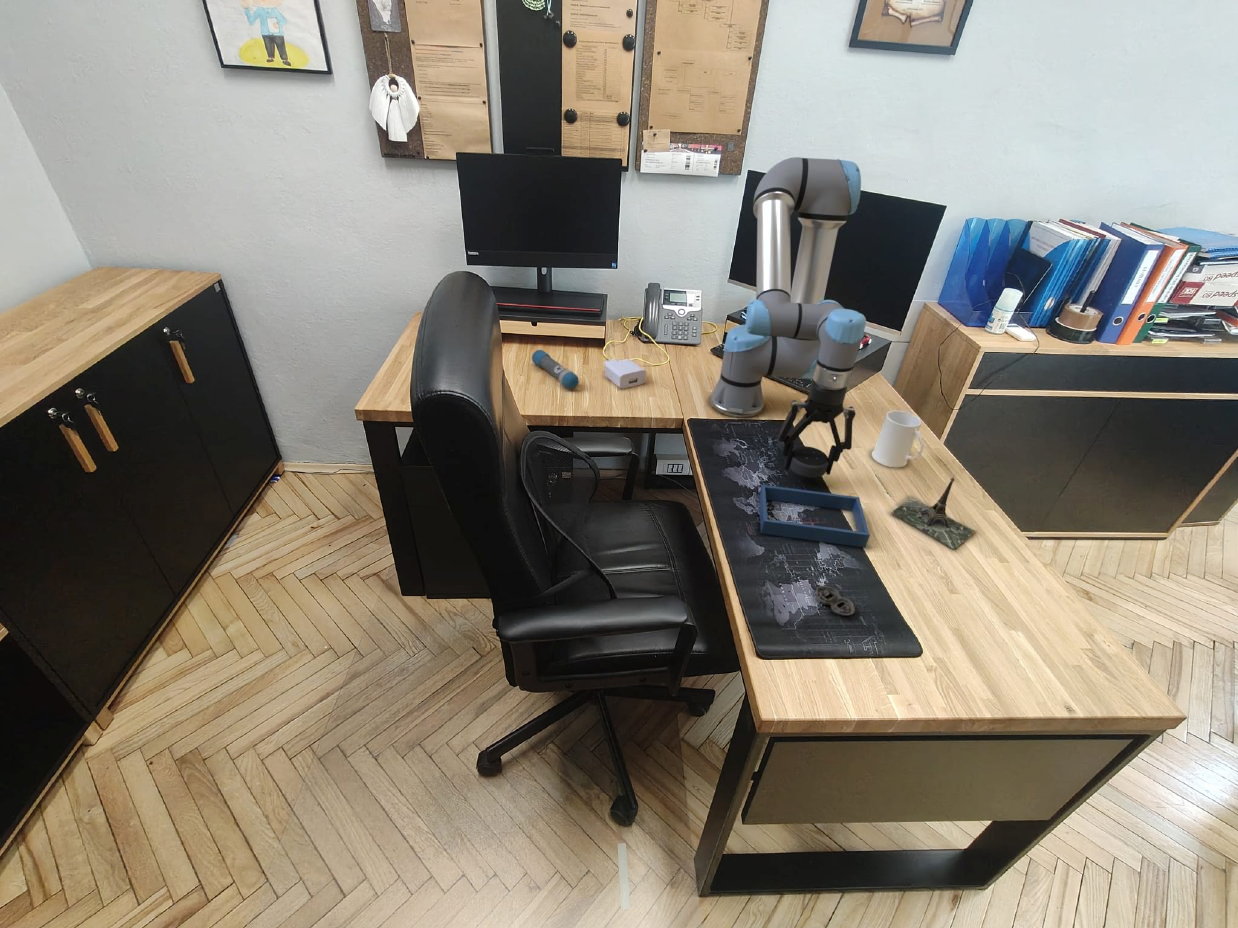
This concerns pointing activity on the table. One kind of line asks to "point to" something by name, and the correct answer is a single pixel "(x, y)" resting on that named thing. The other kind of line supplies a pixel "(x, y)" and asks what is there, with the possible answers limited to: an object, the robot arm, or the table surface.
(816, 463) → the smart speaker
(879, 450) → the mug
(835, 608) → the corroded twin loop
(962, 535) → the eiffel tower figurine
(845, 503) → the rectangular frame
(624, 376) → the charger
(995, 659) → the table surface
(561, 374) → the grey and blue rod
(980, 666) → the table surface
